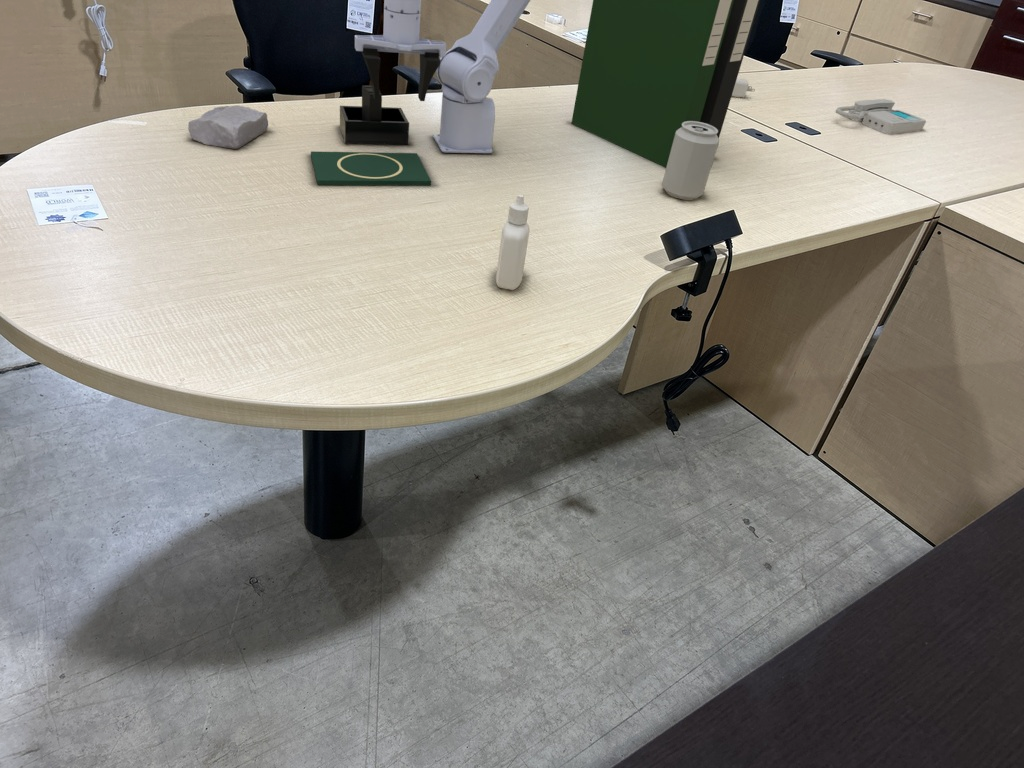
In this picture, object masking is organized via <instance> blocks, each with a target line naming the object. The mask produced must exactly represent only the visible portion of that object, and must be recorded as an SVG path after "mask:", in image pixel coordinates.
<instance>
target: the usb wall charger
mask: <svg viewBox="0 0 1024 768" xmlns="http://www.w3.org/2000/svg"><path fill="white" fill-rule="evenodd" d="M755 91H756V89H755V88H753V86H752V85H751V86H750V83H749V80H747V79H745V78H742V77H737V80H736V83H735V86H734V90H733V93H732V96H731V98H732V97H733V98H742V99H744V98H745V97H746V95H747V92H751V93H753V92H755Z"/></svg>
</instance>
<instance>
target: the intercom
mask: <svg viewBox="0 0 1024 768" xmlns="http://www.w3.org/2000/svg"><path fill="white" fill-rule="evenodd" d="M895 104H896V102H895V101H893V100H891V99H886V98H877V99H876V98H875V99H865V100H856V101H855V102H854V105H848V106H839V107H837V108H836V109H835V114H837V115H839V116H841V117H843V118H847V119H850V120H852V121H854V122H861V124H862V125H864V126H866V127H869V128H871V129H874V130H876V131H879V132H880V133H884V134H886V135H897V134H903V133H912V132H920V131H923V129H924V126H925V125H926V123H927V119H924V118H922V117H920V116H917V115H913V114H911V113H909V112H907V111H904V110H901V109H899V110H898V109H893V108H894V105H895Z"/></svg>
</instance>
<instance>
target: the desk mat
mask: <svg viewBox="0 0 1024 768" xmlns="http://www.w3.org/2000/svg"><path fill="white" fill-rule="evenodd" d="M310 158H311V162H312V166H313V171H314V176H315V179H316V184H317V186H432V179H431V177H430V175H429V174H428V172H427V170H426V168H425V166H424V164H423V162H422V160H421V158H420V156H419V154H418V153H417V152H373V151H371V152H369V151H368V152H367V151H312V150H311V151H310Z"/></svg>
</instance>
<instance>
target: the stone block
mask: <svg viewBox="0 0 1024 768" xmlns="http://www.w3.org/2000/svg"><path fill="white" fill-rule="evenodd" d="M187 125H188V127H187V128H188V132H189V135H190V136H191V139H192V140H194V141H197V142H199V143H201V144H203V145H206V146H212V147H213V146H215V147H220V148H226V149H232V150H233V149H234V150H238V149H240V148H241V147H243V146H245V145H246V144H248V143H249V142H251V141H253V140H255V139H256V138H257V137H258V136H261V135H263V134H264V133H265V132H266V131H267V130H268V128H269V119H268V114H267V112H265V111H263V112H262V111H259V110H257V109H254V108H251V107H248V106H244V105H239V104H238V105H225V106H217V107H214V108H213V109H211V110H208V111H206V112H204V113H203V114H202V115H201V116H200V117H199V118H196V119H192V120H190V121H188V124H187Z"/></svg>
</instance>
